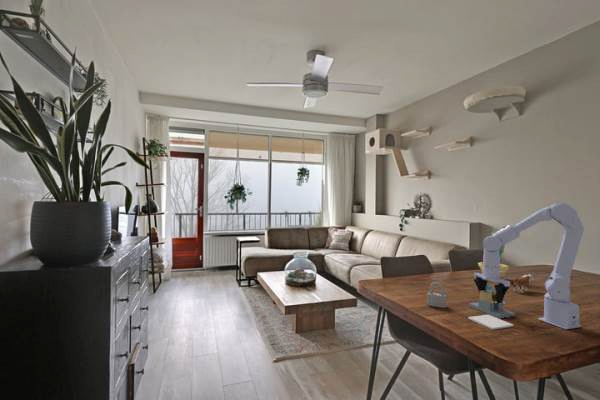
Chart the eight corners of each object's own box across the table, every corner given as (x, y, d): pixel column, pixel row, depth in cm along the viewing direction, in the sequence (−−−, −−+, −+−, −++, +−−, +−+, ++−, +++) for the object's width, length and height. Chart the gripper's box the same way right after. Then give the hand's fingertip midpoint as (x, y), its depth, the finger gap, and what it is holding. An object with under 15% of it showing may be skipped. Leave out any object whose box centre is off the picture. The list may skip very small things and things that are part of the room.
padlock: (445, 305, 129) (446, 282, 129) (445, 308, 125) (446, 284, 125) (427, 303, 132) (428, 280, 132) (427, 305, 128) (427, 282, 128)
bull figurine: (536, 291, 153) (536, 274, 153) (518, 293, 148) (518, 276, 148) (526, 288, 157) (527, 272, 157) (509, 291, 152) (509, 274, 152)
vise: (521, 315, 119) (521, 294, 119) (499, 318, 115) (499, 296, 115) (489, 303, 132) (489, 284, 132) (468, 306, 129) (468, 286, 129)
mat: (513, 326, 108) (513, 324, 108) (492, 329, 105) (492, 327, 105) (488, 316, 118) (488, 314, 118) (468, 318, 115) (468, 317, 115)
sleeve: (502, 302, 122) (502, 293, 122) (491, 303, 120) (491, 294, 120) (489, 297, 127) (489, 289, 127) (479, 299, 125) (479, 290, 125)
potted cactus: (513, 283, 168) (514, 237, 168) (482, 280, 171) (483, 236, 171) (502, 276, 183) (502, 234, 183) (473, 274, 186) (474, 233, 186)
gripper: (468, 262, 129) (468, 294, 129) (500, 270, 115) (500, 306, 115) (481, 262, 131) (480, 293, 131) (514, 269, 117) (513, 304, 117)
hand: (490, 299), depth 123 cm, fingers open, 7 cm apart
